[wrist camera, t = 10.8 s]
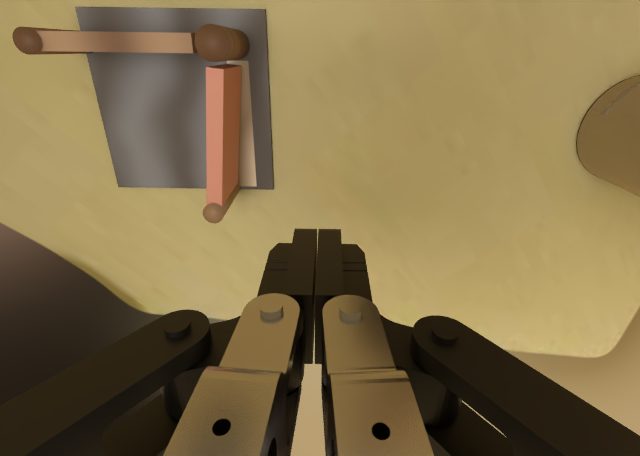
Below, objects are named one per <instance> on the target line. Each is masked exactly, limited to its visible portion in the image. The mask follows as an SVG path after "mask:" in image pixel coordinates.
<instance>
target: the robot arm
mask: <svg viewBox="0 0 640 456" xmlns="http://www.w3.org/2000/svg"><path fill="white" fill-rule="evenodd" d="M577 151H578V155H579V158H580V161H581V163H582V164H583V165H584V167H585V168H586V169H587V170H588V171H589V172H591V173H592V174H594V175H596V176H598V177H600V178H602V179H604V180H606V181H608V182H611V183H613V184H615V185H617V186H619V187H621V188H623V189H625V190H627V191H629V192H631V193H633V194H636V195H638V196H640V75H639V76H635V77H631V78H629V79H627V80H625V81H622V82H620V83H618V84H617V85H615V86H614V87H612V88H611V89H609V90H608V91H606V92H605V93H604V94H603V95H602V96H601V97H600V98H599V99H598V100H597V101H596V102H595V103H594V104H593V106H592V107H591V108H590V109H589V111H588V113H587V114H586V116H585V118H584V119H583V121H582V124H581V127H580V130H579V132H578V139H577ZM314 325H315V364H322V389H321V391H322V407H323V420H324V421H323V422H324V437H325V452H326V456H640V436H639V435H638V434H636V433H634V432H633V431H631V430H630V429H628V428H627V427H625V426H623V425H622V424H620V423H619V422H617V421H615V420H614V419H612V418H611V417H609V416H608V415H606V414H604V413H603V412H601V411H600V410H598V409H596V408H595V407H593V406H592V405H590V404H589V403H587V402H585V401H584V400H582V399H581V398H579V397H577V396H576V395H574V394H573V393H571V392H570V391H568V390H567V389H565V388H563V387H561V386H560V385H559V384H557V383H555V382H554V381H552V380H551V379H549V378H547V377H546V376H544V375H543V374H541V373H540V372H538V371H536V370H535V369H533V368H532V367H530V366H528V365H527V364H525V363H524V362H522V361H520V360H519V359H518V358H516V357H514V356H512V355H511V354H509V353H508V352H506V351H505V350H503V349H502V348H500V347H499V346H497V345H495V344H494V343H492V342H491V341H489V340H488V339H486V338H484V337H483V336H481V335H480V334H478V333H476V332H475V331H473V330H472V329H470V328H469V327H467V326H465V325H464V324H462V323H460V322H459V321H457V320H454V319H452V318H449V317H444V316H427V317H423V318H421V319H420V320H418V321H417V322H416V323H415V325H414V327H409V326H405V325H401V324H398V323H395V322H392V321H390V320H388V319H386V318H384V317H383V316H382V315H380V314H379V311H378V309H377V307H376V306H375V305H374V304H373V302H372V296H371V290H370V284H369V278H368V272H367V266H366V260H365V254H364V252H363V251H362V250H361V249H360V248H359V247H358V245H357V244H341V229H319V233H318V251H317V229H295V231H294V236H293V242H292V243H278V244H277V245H276V246H275V247H274V248H273V249H272V250H271V251H270V252H269V256H268V259H267V263H266V266H265V271H264V274H263V277H262V281H261V284H260V288H259V291H258V295H257V297H256V298H254V299H252V300H251V301H250V302H248V304H247V305H246V306H245V308H244V310H243V312H242V314H241V316H239V317H237V318H234V319H231V320H227V321H223V322H218V323H213V324H210V323H209V320H208V318H207V316H206V315H204V314H203V313H201V312H199V311H195V310H179V311H175V312H171V313H169V314H166V315H164V316H162V317H160V318H159V319H157V320H155V321H153V322H151V323H149V324H148V325H146V326H144V327H142V328H140V329H139V330H137V331H135V332H133V333H131V334H130V335H128V336H126V337H124V338H122V339H121V340H119V341H117V342H115V343H113V344H112V345H110V346H108V347H106V348H104V349H102V350H101V351H99V352H97V353H95V354H93V355H92V356H90V357H88V358H86V359H84V360H83V361H81V362H79V363H77V364H75V365H73V366H72V367H70V368H68V369H67V370H64V371H63V372H61V373H59V374H57V375H55V376H54V377H52V378H50V379H48V380H46V381H45V382H43V383H41V384H39V385H37V386H36V387H34V388H32V389H30V390H28V391H27V392H25V393H23V394H21V395H19V396H17V397H16V398H14V399H12V400H10V401H8V402H7V403H5V404H3V405H1V406H0V456H290V455H291V449H292V443H293V437H294V431H295V425H296V419H297V413H298V407H299V401H300V395H301V387H302V386H301V382H302V380H303V376H304V364H312V363H313V344H314ZM158 389H160V390H161V394H160V395H159V396H158V397H156V398H155V399H153V400H152V401H151V402H149V403H148V404H146V405H145V406H144V407H142V408H141V409H140V410H138V411H137V412H135V413H134V414H132V415H131V416H130V417H128V418H127V419H125V420H124V421H122V422H121V423H120V424H118V425H117V426H115V427H114V428H113V429H111V430H110V431H108V432H107V433H105V434H103V433H104V431H105V430H106V428H107V427H108V426H109V424H110V423H112V422H113V420H115V419H116V418H118V417H119V416H121V415H122V414H124V413H125V412H126V411H128V410H129V409H131V408H132V407H134V406H135V405H136V404H138V403H139V402H141V401H142V400H144V399H145V398H147V397H148V396H149V395H151V394H152V393H154V392H155V391H157V390H158ZM462 400H463V401H464V402H465V403H467V404H468V405H469V406H470V407H472V408H473V409H474V410H475V411H477V412H478V413H479V414H480V415H482V416H483V417H484V418H485V419H486V420H488V421H489V422H490V423H491V424H493V425H494V426H495V427H496V428H498V429H499V430H500V431H501V432H502V433H503V434H504V435H505V436H506V437H507V438H506V437H505V436H504V435H502V434H501V433H500V432H499V431H498V430H496V429H495V428H494V427H493V426H491V425H490V424H489V423H488V422H486V421H485V420H484V419H483V418H481V417H480V416H479V415H478V414H476V413H475V412H474V411H473V410H472V409H470V408H469V407H468V406H467V405H465V404H464V403H463V402H462Z"/></svg>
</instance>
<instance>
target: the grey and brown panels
mask: <svg viewBox="0 0 640 456" xmlns="http://www.w3.org/2000/svg"><path fill="white" fill-rule="evenodd" d="M75 8H76V12H77V17H78V21H79V25H80V29H81V31H73V30H59V29H45V28H31V27H18V28H16V29H15V30H14V32H13V41H14V43H15V45H16V47H17V48H18V49H19V50H20V51H21V52H23V53H25V54H78V53H86V54H87V58H88V62H89V66H90V71H91V75H92V79H93V83H94V87H95V91H96V95H97V100H98V104H99V108H100V112H101V116H102V120H103V124H104V129H105V133H106V137H107V141H108V145H109V149H110V154H111V158H112V162H113V166H114V170H115V174H116V178H117V183H118V187H146V188H207V162H206V67H208V66H215V65H222V64H233V65H240V66H242V72H241V103H240V134H239V166H238V183H239V185H240V189H271V190H273V189H274V182H273V160H272V138H271V115H270V93H269V71H268V49H267V27H266V10H265V9H196V8H121V7H75Z"/></svg>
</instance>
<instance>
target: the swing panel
mask: <svg viewBox="0 0 640 456" xmlns="http://www.w3.org/2000/svg"><path fill="white" fill-rule="evenodd" d="M241 72H242V66H240V65H233V64H222V65H215V66H208V67H206V162H207V205H206V207H205V208H204V210H203V216H204V218H205V219H206V220H207V221H208V222H210V223H218V222H220V221H221V220H222V219H223V217H224V215H225V214H226V212H227V210H228V209H229V207H230V205H231V204H232V202H233V200H234V199H235V197H236V195H237V194H238V192H239V190H240V185H239V183H238V166H239V134H240V103H241Z"/></svg>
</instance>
